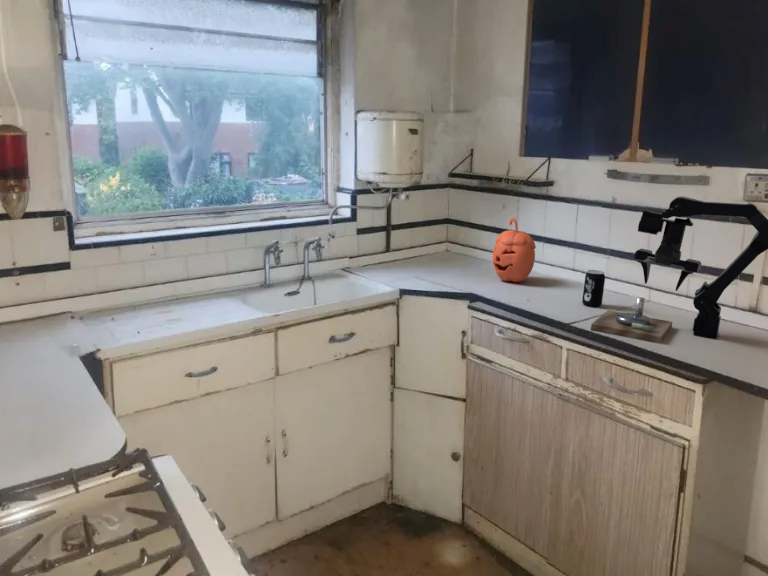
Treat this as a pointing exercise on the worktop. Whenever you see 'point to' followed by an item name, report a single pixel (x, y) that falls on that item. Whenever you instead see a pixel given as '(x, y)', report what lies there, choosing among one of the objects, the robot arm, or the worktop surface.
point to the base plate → (632, 328)
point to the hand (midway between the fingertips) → (660, 286)
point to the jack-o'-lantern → (513, 254)
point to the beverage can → (593, 288)
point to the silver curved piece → (634, 315)
